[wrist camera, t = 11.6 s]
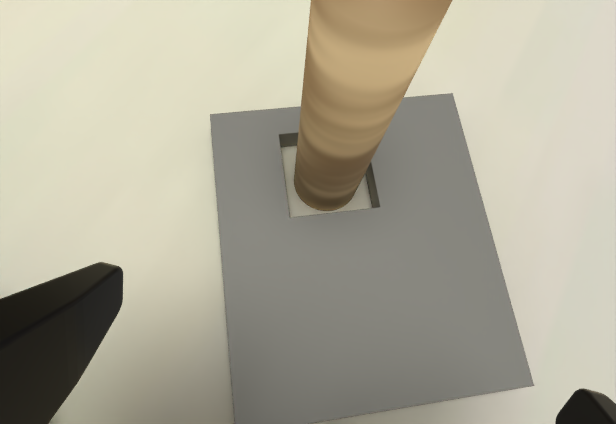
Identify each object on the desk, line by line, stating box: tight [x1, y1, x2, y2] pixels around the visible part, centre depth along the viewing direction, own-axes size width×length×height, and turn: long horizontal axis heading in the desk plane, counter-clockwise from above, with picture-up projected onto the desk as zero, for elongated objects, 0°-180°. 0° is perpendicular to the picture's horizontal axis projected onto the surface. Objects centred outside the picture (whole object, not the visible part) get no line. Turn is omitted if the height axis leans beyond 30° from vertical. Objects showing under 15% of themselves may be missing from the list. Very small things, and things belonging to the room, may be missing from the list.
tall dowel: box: [294, 0, 452, 211], centre depth 17 cm, size 4×4×14 cm
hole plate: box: [210, 93, 534, 424], centre depth 22 cm, size 16×14×2 cm
